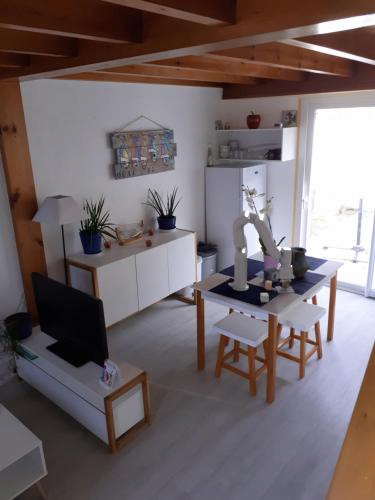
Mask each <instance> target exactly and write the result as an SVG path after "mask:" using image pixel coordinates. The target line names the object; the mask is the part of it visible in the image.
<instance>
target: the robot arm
mask: <svg viewBox="0 0 375 500" xmlns="http://www.w3.org/2000/svg"><path fill="white" fill-rule="evenodd" d="M248 224H252V225H253V227H254V229H255V230H256V232H257V233H258V236H259V237H260V239H261V241H262V243H263V245H264V247H265V249H266V251H267V253H268V254H269V257H270V258H271V259H272V260H274V261H279V260H280V262H278V266H279V268H278V270H279V272H278V275H277V276H276V277H275V278H276V279H277V280H278V282H279V286H281V287H282V280H288V281H289V286H291V282H292V281H293V280H294V279H296V278H295V276H294V275H293V270H292V266H291V254H292V250H291V249H290V248H291V247H280V246H277V244H276V242H275V240H274V237H273V233H272V232H271V230H270V228H269V226H268V225H267V223H266V219H265V217H264V216H263V215H260V214H258V213H254V212H252V211H250V210H242V211H241V212H239V215H238V217H236V218H235V219H234V220H233V223H232V239H233V246H234V249H235V250H234V257H233V259H234V260H233V262H234V273H233V274H234V277H233V278H234V281H233V282H228V283H227V284H228V286H230V287H231V288H232V289H233V290H235V291H238V292H243V291H244V292H245V291H247V290H249V288H250V287H249V284H247V282H248V279H247V278H248V276H247V275H248V272H247V271H248V239H247V236H246V234H245V226H246V225H248Z"/></svg>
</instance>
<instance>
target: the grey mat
mask: <svg viewBox="0 0 375 500" xmlns="http://www.w3.org/2000/svg"><path fill="white" fill-rule="evenodd" d="M274 288H275V290H276V291H277V293H278V294H295V291H294V289H293V287H292V286H291V285H289V288H282V287H281V286H280V285H279V286H278V285H277V286H274Z"/></svg>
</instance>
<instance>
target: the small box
mask: <svg viewBox="0 0 375 500" xmlns="http://www.w3.org/2000/svg"><path fill="white" fill-rule="evenodd" d="M278 272H279V268H277V267H271V268H264V269H263V282H264V283H265V281H272V284H273V283H279V280H277V279H276V278H275V277H276V276H277V275H278Z"/></svg>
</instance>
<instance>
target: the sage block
mask: <svg viewBox="0 0 375 500" xmlns="http://www.w3.org/2000/svg"><path fill="white" fill-rule="evenodd" d="M259 295H260V297H259V299H260V302H261V303H269V302H270V301H269V300H270V298H269V297H270V296H269V293H268V292H260V293H259Z"/></svg>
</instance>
